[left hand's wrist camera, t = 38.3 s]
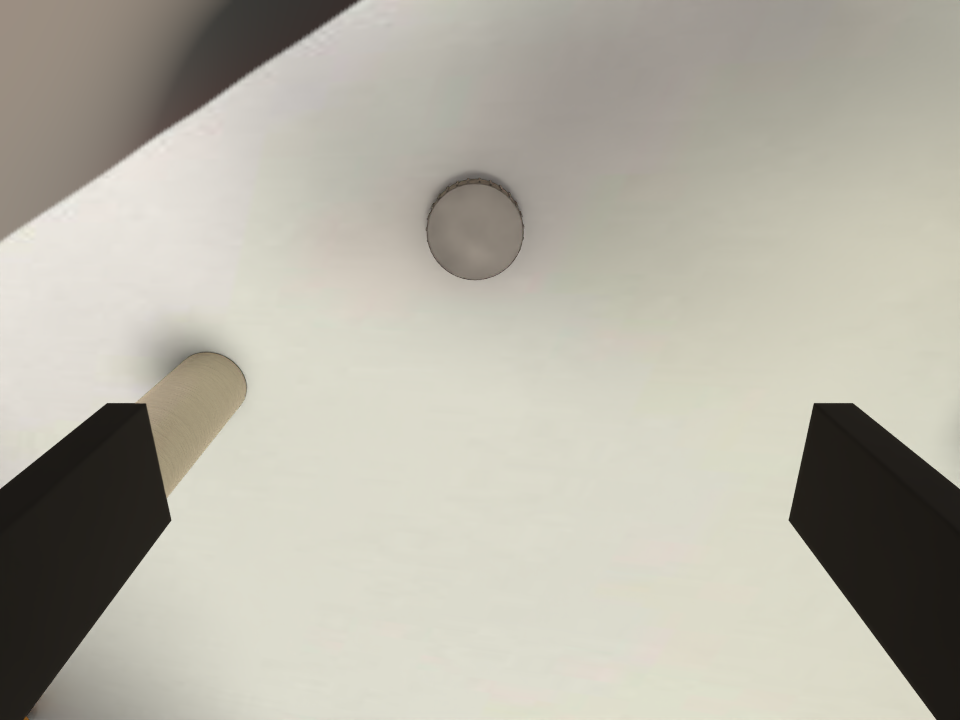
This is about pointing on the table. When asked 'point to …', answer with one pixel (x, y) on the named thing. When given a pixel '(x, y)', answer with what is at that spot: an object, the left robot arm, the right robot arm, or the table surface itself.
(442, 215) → the lid
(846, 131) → the table surface
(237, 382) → the beige long cylinder
